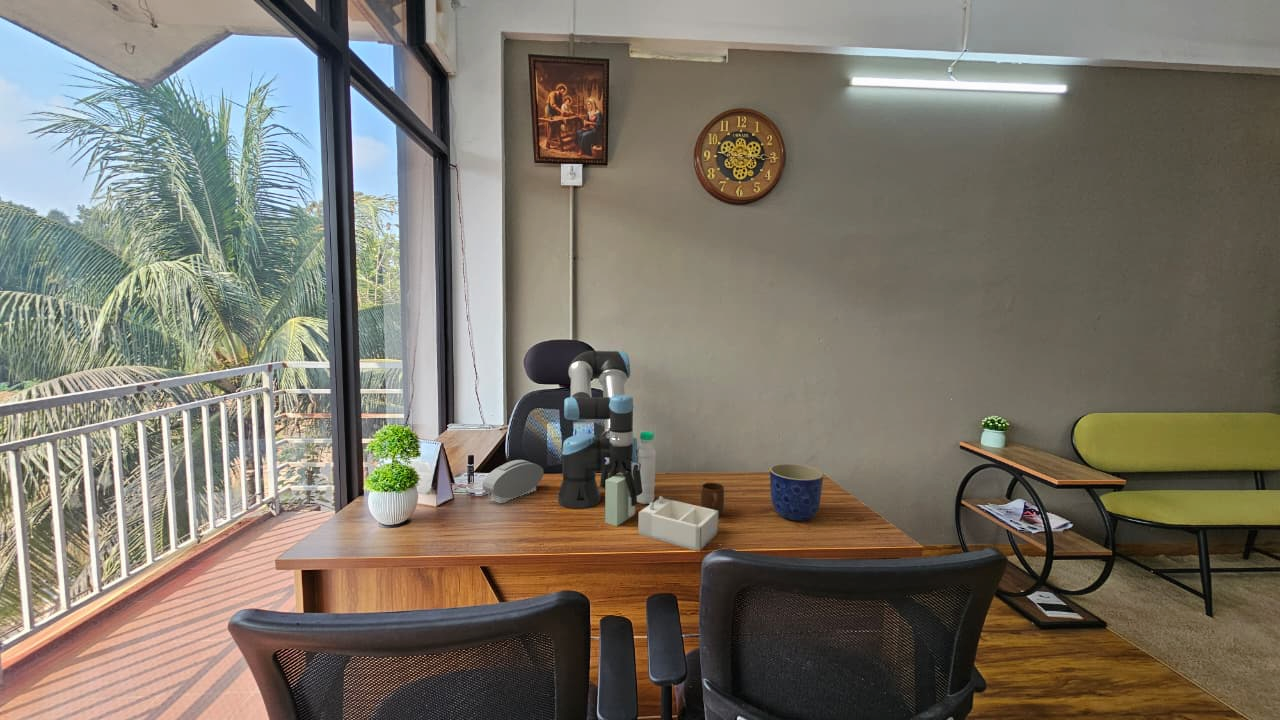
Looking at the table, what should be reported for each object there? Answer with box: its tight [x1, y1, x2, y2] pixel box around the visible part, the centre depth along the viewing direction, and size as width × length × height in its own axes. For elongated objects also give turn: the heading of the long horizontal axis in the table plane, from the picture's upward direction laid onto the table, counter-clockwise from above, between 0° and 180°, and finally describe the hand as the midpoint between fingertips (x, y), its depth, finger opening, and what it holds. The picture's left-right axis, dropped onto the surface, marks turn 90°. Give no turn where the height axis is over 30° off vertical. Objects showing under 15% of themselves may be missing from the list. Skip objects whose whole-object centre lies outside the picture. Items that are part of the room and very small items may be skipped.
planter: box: [769, 463, 825, 522], centre depth 157 cm, size 17×17×15 cm
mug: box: [700, 482, 725, 518], centre depth 157 cm, size 12×8×9 cm, turn 0°
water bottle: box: [636, 430, 657, 505], centre depth 168 cm, size 7×7×25 cm
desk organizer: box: [637, 495, 719, 552], centre depth 143 cm, size 20×14×9 cm
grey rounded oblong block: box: [482, 459, 545, 503], centre depth 173 cm, size 23×6×13 cm, turn 144°
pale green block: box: [604, 472, 636, 527], centre depth 154 cm, size 4×11×14 cm, turn 149°
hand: (620, 511), depth 154 cm, fingers open, 8 cm apart
